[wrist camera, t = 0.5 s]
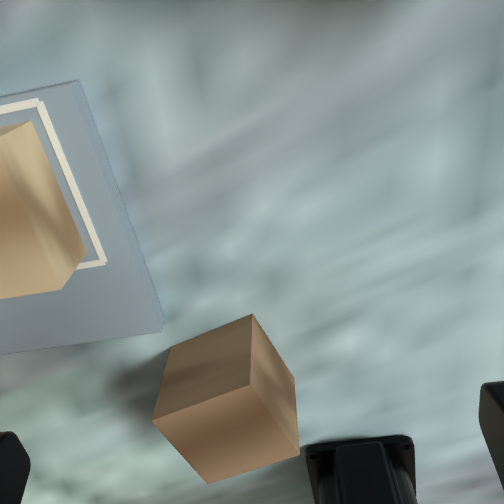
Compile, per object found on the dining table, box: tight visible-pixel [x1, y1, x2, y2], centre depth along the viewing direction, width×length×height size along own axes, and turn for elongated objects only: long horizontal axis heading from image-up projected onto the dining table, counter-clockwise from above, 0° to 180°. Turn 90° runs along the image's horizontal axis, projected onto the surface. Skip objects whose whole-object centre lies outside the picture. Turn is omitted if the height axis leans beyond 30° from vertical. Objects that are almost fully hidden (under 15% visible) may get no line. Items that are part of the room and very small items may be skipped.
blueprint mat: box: [0, 80, 165, 355], centre depth 21 cm, size 12×10×1 cm
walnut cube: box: [151, 314, 300, 484], centre depth 23 cm, size 5×5×5 cm
